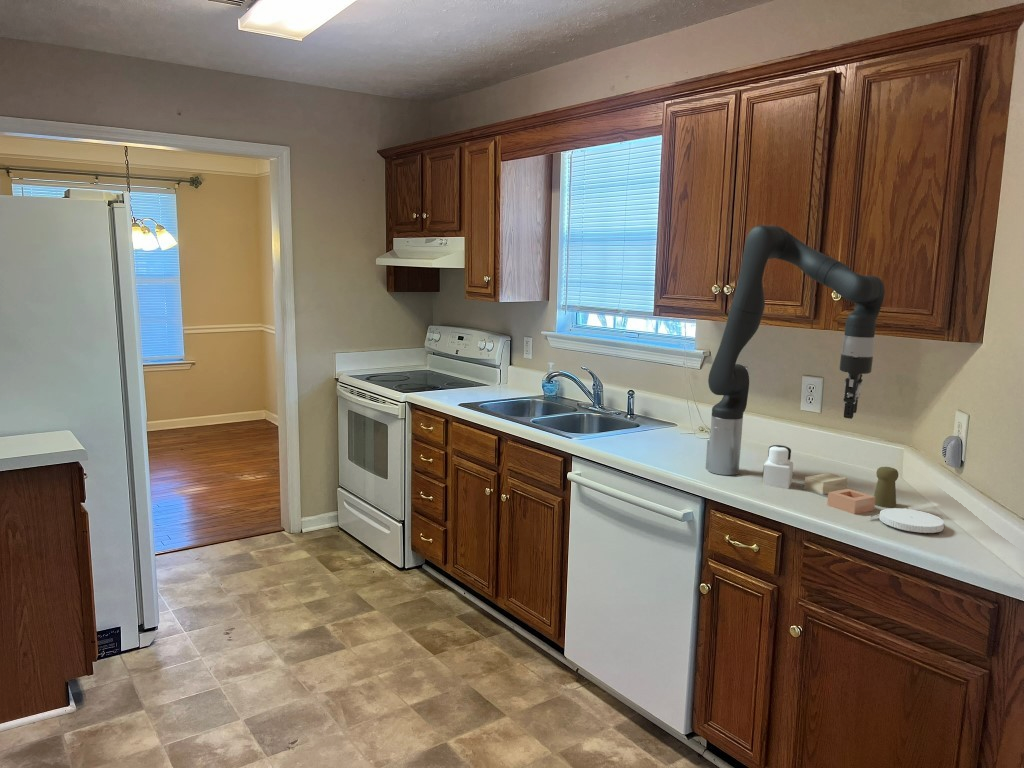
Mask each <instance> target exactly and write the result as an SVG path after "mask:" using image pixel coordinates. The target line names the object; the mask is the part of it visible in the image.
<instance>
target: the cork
mask: <svg viewBox="0 0 1024 768" xmlns="http://www.w3.org/2000/svg"><path fill="white" fill-rule="evenodd" d="M876 477H877V482H876V485H875V490H874V493H873V496H875V497H876V498H875V506H876V507H881V508H884V509H888V508H897V494H896V493H897V491H896V490H897V489H896V482H897V480H898V479H899V471H898V470H897V469H896V468H894V467H889V466H880V467H878V468H877V469H876Z"/></svg>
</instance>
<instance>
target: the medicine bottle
mask: <svg viewBox="0 0 1024 768" xmlns="http://www.w3.org/2000/svg"><path fill="white" fill-rule="evenodd" d="M767 452H768V453H767V454H768V455H767V460H766V461H765V462H764V464H763V470H762V472H763V473H762V481H761V484H762V485H761V486H767V487H768V486H769V487H774V488H782V489H788V490H789V489H790V487H791V485H792V484H793V482H792V481H793V472H794V462H792V461H791V455H792V449H791V448H790V447H788V446H786V445H782V444H781V445H780V444H773V445H770V446H769V447H768V451H767Z"/></svg>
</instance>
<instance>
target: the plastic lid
mask: <svg viewBox="0 0 1024 768" xmlns="http://www.w3.org/2000/svg"><path fill="white" fill-rule="evenodd" d="M879 521H880V522H882V523H884V524H885V525H887V526H890V527H892V528H895V529H899V530H902V531H907V532H914V533H922V534H923V533H924V534H927V533H928V534H933V533H939V532H942V531H943V530H944V528H945V527H944V526H945V521H944V520H943V519H942V518H940V517H939V516H937V515H935V514H932V513H928V512H925V511H920V510H916V509H910V508H899V507H898V508H897V507H894V508H884V509H882V510H880V512H879Z"/></svg>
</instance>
